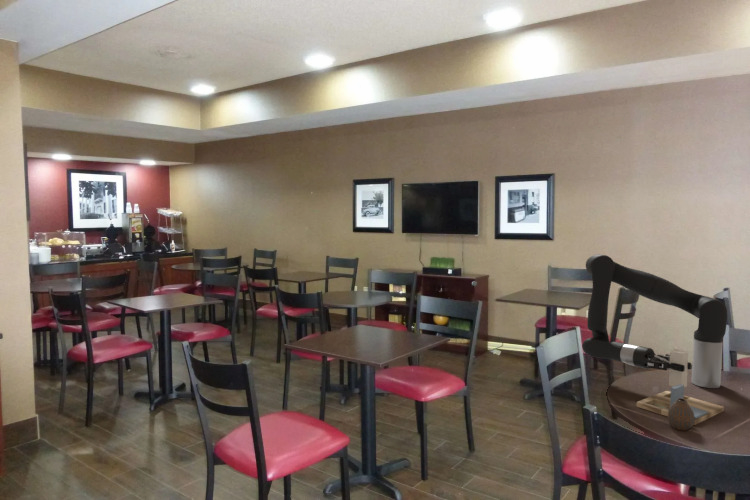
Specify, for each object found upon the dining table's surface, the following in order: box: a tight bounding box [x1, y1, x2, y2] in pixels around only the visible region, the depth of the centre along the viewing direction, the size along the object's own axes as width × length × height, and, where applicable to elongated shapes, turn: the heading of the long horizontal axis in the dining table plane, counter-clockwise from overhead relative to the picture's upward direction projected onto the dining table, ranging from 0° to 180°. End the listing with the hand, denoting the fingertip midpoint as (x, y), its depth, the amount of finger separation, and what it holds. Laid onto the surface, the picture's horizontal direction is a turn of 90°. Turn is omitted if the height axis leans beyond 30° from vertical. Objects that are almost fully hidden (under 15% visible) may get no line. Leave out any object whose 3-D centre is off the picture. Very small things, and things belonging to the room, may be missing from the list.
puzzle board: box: [636, 390, 725, 426], centre depth 169 cm, size 20×18×2 cm
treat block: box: [668, 349, 689, 388], centre depth 174 cm, size 4×4×12 cm
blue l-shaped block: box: [670, 384, 708, 419], centre depth 161 cm, size 8×8×7 cm
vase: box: [667, 398, 694, 431], centre depth 154 cm, size 7×7×9 cm
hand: (687, 367), depth 172 cm, fingers closed on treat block, 4 cm apart
